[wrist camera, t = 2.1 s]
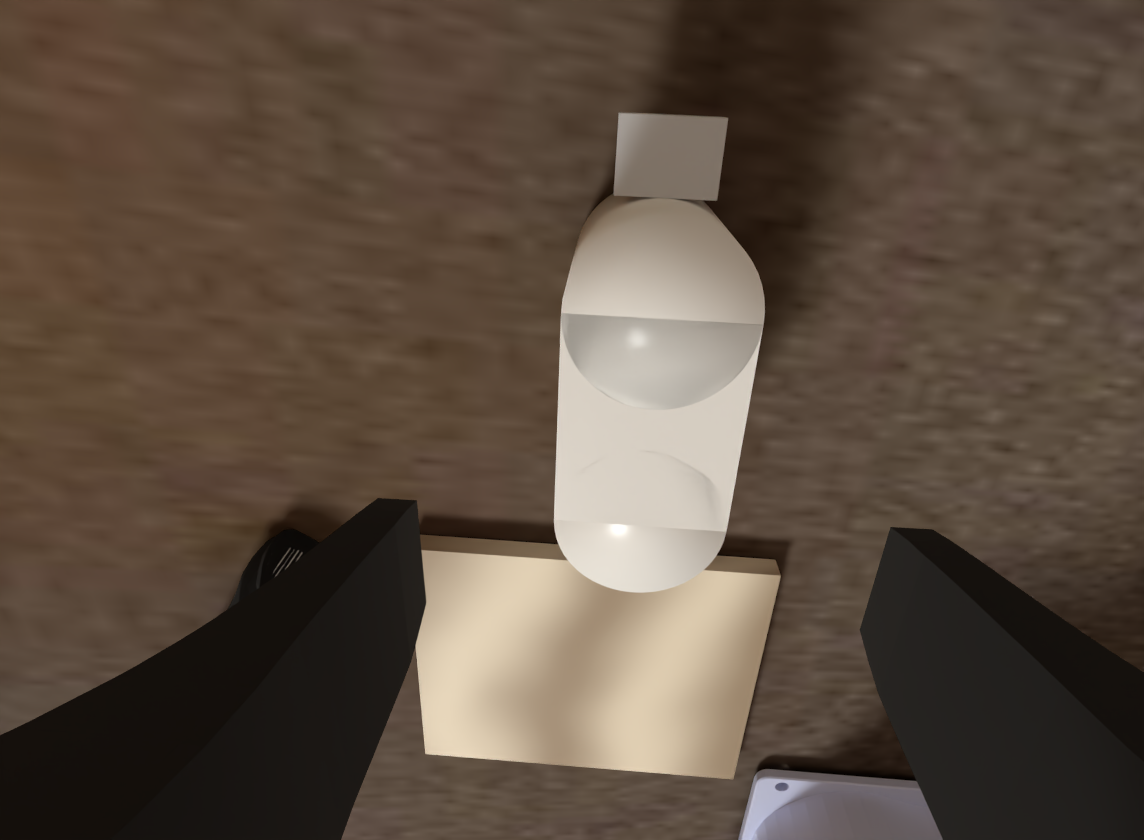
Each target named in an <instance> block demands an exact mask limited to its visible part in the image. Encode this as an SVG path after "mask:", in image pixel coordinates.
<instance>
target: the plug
mask: <svg viewBox="0 0 1144 840" xmlns="http://www.w3.org/2000/svg"><path fill="white" fill-rule="evenodd" d="M727 123H728V118H726V117H718V116H697V115H675V114H654V113H633V112H619V118H618V133H617V148H616V163H615V178H614V193H613V194H611V195H610V196H608V197H607V198H606V199H604V200H603V201H602V202H601V203H600V204H599V205H598V206H597V207H596V208H595V209H594V210H593V211H592V213H591V214H590V215H589V217H588V218H587V220H586V222H585V223H584V225H583V227H582V230H581V232H580V235H579V237H578V241H577V245H576V249H575V253H574V257H573V261H572V264H571V268H570V272H569V276H568V280H567V284H566V288H565V292H564V296H563V300H562V310H561V332H560V361H559V390H558V419H557V448H556V477H555V507H554V529H555V534H556V539H557V541H558V544H559V547H560V549H561V550H562V552H563V554H564V556H565V557H566V558H567V560H568V561H569V562H570V563H571V564H572V566H573V567H574V568H575V569H576V570H578V571H579V572H580V573H581V574H583V575H584V576H585V577H587V578H589V579H590V580H592V581H594V582H596V583H598V584H600V585H602V586H605V587H608V588H611V589H615V590H619V591H625V592H636V593H645V592H656V591H661V590H666V589H669V588H673V587H676V586H678V585H680V584H683V583H685V582H687V581H689V580H690V579H692V578H694V577H695V576H697V575H698V574H699V573H701V572H702V571H703V570H704V569H705V568H706V567H707V566H709V564H710V563H711V562H712V561H713V560H714V558H715V557H716V555H717V554H718V552H719V551H720V549H721V546H722V544H723V542H724V539H725V535H726V531H727V525H728V520H729V514H730V508H731V503H732V497H733V492H734V486H735V481H736V475H737V469H738V464H739V458H740V453H741V447H742V442H743V436H744V431H745V425H746V419H747V414H748V408H749V403H750V397H751V392H752V386H753V380H754V375H755V369H756V364H757V358H758V353H759V347H760V341H761V336H762V330H763V325H764V316H765V299H764V293H763V287H762V283H761V280H760V277H759V274H758V272H757V270H756V268H755V266H754V264H753V262H752V260H751V259H750V257H749V256H748V254H747V253H746V251H745V250H744V249H743V248H742V246H741V245H740V244H739V243H738V242H737V240H736V239H735V238H734V237H733V235H732V234H731V233H730V232H729V231H728V229H727V228H726V227H725V226H724V224H723V223H722V222H721V221H720V220H719V218H718V217H717V216H716V215H715V213H714V212H713V211H712V210H711V209H710V207H709V206H708V205H707V204H706V203H705V202H704V201H703V200H711V201H717V198H718V190H719V183H720V175H721V168H722V161H723V153H724V146H725V138H726V131H727Z"/></svg>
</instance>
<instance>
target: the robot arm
mask: <svg viewBox="0 0 1144 840" xmlns="http://www.w3.org/2000/svg"><path fill="white" fill-rule="evenodd" d="M425 606H426V592H425V582H424V571H423V561H422V550H421V540H420V530H419V519H418V509H417V500H400V499H382V498H378V499H376V500H375V501H374V502H372V503H371V504H369V505H368V506H367V507H365V508H364V509H363V510H361V511H360V512H359V513H358V514H356V515H355V516H354V517H352V518H351V519H350V520H349V521H347V522H346V523H345V524H344V525H342V526H341V527H340V528H338V529H337V530H336V531H335V532H333V533H332V534H331V535H329V536H328V537H327V538H326V539H324V540H323V541H322V542H320V543H319V544H318V545H317V546H315V547H314V548H313V549H311V550H310V551H309V552H307V553H306V554H305V555H303V556H302V557H301V558H299V559H298V560H297V561H295V562H294V563H293V564H291V565H290V566H289V567H288V568H286V569H285V570H284V571H282V572H281V573H280V574H278V575H277V576H275V577H274V578H272V579H271V580H270V581H268V582H267V583H265V584H264V585H262V586H261V587H259V588H258V589H257V590H255V591H254V592H252V593H251V594H249V595H248V596H246V597H245V598H244V599H242V600H241V601H239V602H238V603H236V604H235V605H233V606H232V607H231V608H229V609H228V610H226V611H225V612H223V613H222V614H220V615H219V616H218V617H216V618H215V619H213V620H211V621H210V622H208V623H207V624H205V625H204V626H202V627H201V628H199V629H197V630H196V631H194V632H193V633H191V634H189V635H188V636H186V637H184V638H183V639H181V640H180V641H178V642H176V643H175V644H173V645H171V646H169V647H168V648H166V649H164V650H163V651H161V652H159V653H158V654H156V655H154V656H152V657H151V658H149V659H147V660H146V661H144V662H142V663H140V664H139V665H137V666H135V667H133V668H132V669H130V670H128V671H126V672H124V673H123V674H121V675H119V676H117V677H115V678H113V679H111V680H109V681H107V682H106V683H104V684H102V685H100V686H98V687H96V688H94V689H92V690H90V691H88V692H86V693H84V694H82V695H80V696H78V697H76V698H74V699H72V700H70V701H69V702H67V703H65V704H63V705H61V706H59V707H57V708H55V709H53V710H51V711H49V712H47V713H45V714H43V715H41V716H39V717H37V718H35V719H33V720H32V721H30V722H27V723H25V724H23V725H21V726H19V727H17V728H15V729H13V730H11V731H9V732H6V733H4V734H2V735H0V840H341V838H342V835H343V832H344V830H345V827H346V824H347V821H348V819H349V816H350V813H351V810H352V807H353V805H354V802H355V800H356V797H357V795H358V792H359V790H360V787H361V785H362V782H363V780H364V777H365V775H366V772H367V770H368V768H369V765H370V763H371V760H372V758H373V755H374V753H375V750H376V748H377V745H378V743H379V740H380V738H381V736H382V733H383V731H384V728H385V726H386V723H387V721H388V718H389V716H390V713H391V711H392V708H393V706H394V703H395V701H396V698H397V696H398V693H399V691H400V688H401V686H402V683H403V681H404V678H405V676H406V673H407V671H408V668H409V665H410V663H411V659H412V656H413V652H414V649H415V645H416V641H417V638H418V634H419V630H420V626H421V622H422V618H423V614H424V610H425ZM860 632H861V636H862V639H863V643H864V647H865V650H866V654H867V658H868V661H869V665H870V668H871V671H872V674H873V678H874V681H875V684H876V687H877V691H878V694H879V696H880V698H881V701H882V703H883V706H884V708H885V710H886V713H887V715H888V717H889V719H890V722H891V724H892V726H893V729H894V731H895V733H896V736H897V738H898V740H899V742H900V745H901V747H902V749H903V751H904V754H905V756H906V758H907V760H908V763H909V765H910V767H911V769H912V772H913V774H914V776H915V778H916V781H910V780H898V779H885V778H873V777H861V776H849V775H837V774H824V773H812V772H800V771H788V770H775V769H763V770H760V771H759V772H757V773H756V775H755V776H754V780H753V784H752V788H751V792H750V796H749V800H748V804H747V807H746V811H745V815H744V819H743V823H742V827H741V831H740V835H739V839H738V840H1144V672H1142V671H1140V670H1139V669H1137V668H1136V667H1134V666H1133V665H1131V664H1129V663H1128V662H1126V661H1125V660H1123V659H1122V658H1120V657H1119V656H1117V655H1115V654H1114V653H1112V652H1111V651H1109V650H1108V649H1106V648H1105V647H1103V646H1102V645H1100V644H1099V643H1097V642H1096V641H1094V640H1093V639H1091V638H1090V637H1088V636H1087V635H1085V634H1084V633H1082V632H1081V631H1079V630H1078V629H1076V628H1075V627H1074V626H1072V625H1071V624H1069V623H1068V622H1066V621H1065V620H1063V619H1062V618H1060V617H1059V616H1058V615H1056V614H1055V613H1053V612H1052V611H1050V610H1049V609H1048V608H1046V607H1045V606H1043V605H1042V604H1040V603H1039V602H1038V601H1036V600H1035V599H1033V598H1032V597H1030V596H1029V595H1028V594H1026V593H1025V592H1023V591H1022V590H1021V589H1019V588H1018V587H1016V586H1015V585H1013V584H1012V583H1011V582H1009V581H1008V580H1006V579H1005V578H1004V577H1002V576H1001V575H999V574H998V573H997V572H995V571H994V570H992V569H991V568H990V567H988V566H987V565H985V564H984V563H982V562H981V561H980V560H978V559H977V558H975V557H974V556H972V555H971V554H969V553H968V552H967V551H965V550H964V549H962V548H961V547H959V546H958V545H956V544H955V543H953V542H952V541H950V540H949V539H947V538H946V537H944V536H942V535H941V534H939V533H937V532H936V531H934V530H931V529H914V528H896V527H891V528H890V531H889V534H888V538H887V541H886V544H885V548H884V551H883V554H882V558H881V561H880V564H879V568H878V571H877V574H876V578H875V581H874V584H873V588H872V591H871V595H870V598H869V601H868V605H867V608H866V611H865V615H864V618H863V621H862V625H861V628H860Z"/></svg>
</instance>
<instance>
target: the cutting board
mask: <svg viewBox="0 0 1144 840" xmlns="http://www.w3.org/2000/svg"><path fill="white" fill-rule="evenodd" d="M420 540H421V550H422V561H423V571H424V582H425V592H426V606H425V610H424V614H423V618H422V622H421V626H420V630H419V634H418V638H417V641H416V654H417V665H418V676H419V687H420V698H421V709H422V720H423V732H424V743H425V754H433V755H445V756H457V757H469V758H481V759H493V760H505V761H518V762H530V763H542V764H554V765H566V766H578V767H590V768H602V769H615V770H627V771H639V772H651V773H663V774H675V775H687V776H700V777H712V778H724V779H733V778H734V774H735V769H736V765H737V761H738V757H739V752H740V748H741V744H742V739H743V735H744V731H745V727H746V722H747V718H748V714H749V710H750V705H751V701H752V697H753V692H754V688H755V684H756V680H757V675H758V671H759V667H760V663H761V658H762V654H763V650H764V646H765V641H766V637H767V633H768V628H769V624H770V620H771V616H772V611H773V607H774V603H775V599H776V594H777V590H778V586H779V581H780V577H781V575H780V572H779V569H778V566H777V563H776V560H774V559H760V558H745V557H731V556H717V555H716V557H715V558H714V560H713V561H712V562H711V563H710V564H709V566H707V567H706V568H705V569H704V570H703V571H702V572H701V573H699V574H698V575H697V576H695V577H694V578H692V579H690V580H689V581H687V582H685V583H683V584H680V585H678V586H676V587H673V588H669V589H666V590H661V591H656V592H645V593H636V592H625V591H619V590H615V589H611V588H608V587H605V586H602V585H600V584H598V583H596V582H594V581H592V580H590V579H589V578H587V577H585V576H584V575H583V574H581V573H580V572H579V571H578V570H576V569H575V568H574V567H573V566H572V564H571V563H570V562H569V561H568V560H567V558H566V557H565V556H564V554H563V552H562V550H561V549H560V547H559V544H546V543H532V542H518V541H504V540H490V539H475V538H461V537H447V536H433V535H420Z"/></svg>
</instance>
